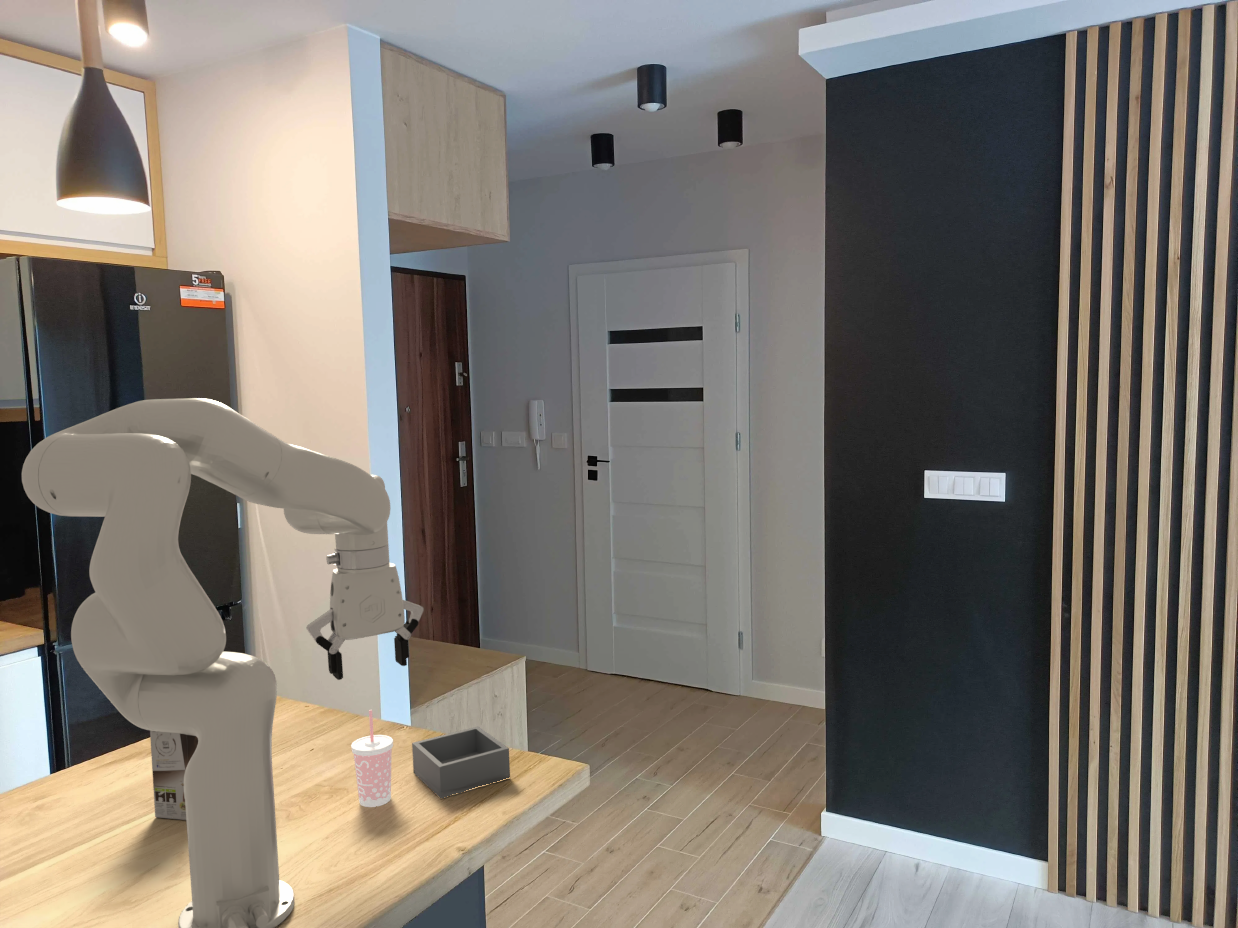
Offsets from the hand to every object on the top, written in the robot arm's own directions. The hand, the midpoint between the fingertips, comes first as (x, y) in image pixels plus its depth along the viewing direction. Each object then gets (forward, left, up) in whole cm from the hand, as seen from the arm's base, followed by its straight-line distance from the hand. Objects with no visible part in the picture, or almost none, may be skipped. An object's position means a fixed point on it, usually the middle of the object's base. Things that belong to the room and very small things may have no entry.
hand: (370, 670), depth 133 cm
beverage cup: (0, 0, -20) cm, 20 cm away
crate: (0, -14, -20) cm, 24 cm away
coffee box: (+15, +23, -20) cm, 34 cm away
